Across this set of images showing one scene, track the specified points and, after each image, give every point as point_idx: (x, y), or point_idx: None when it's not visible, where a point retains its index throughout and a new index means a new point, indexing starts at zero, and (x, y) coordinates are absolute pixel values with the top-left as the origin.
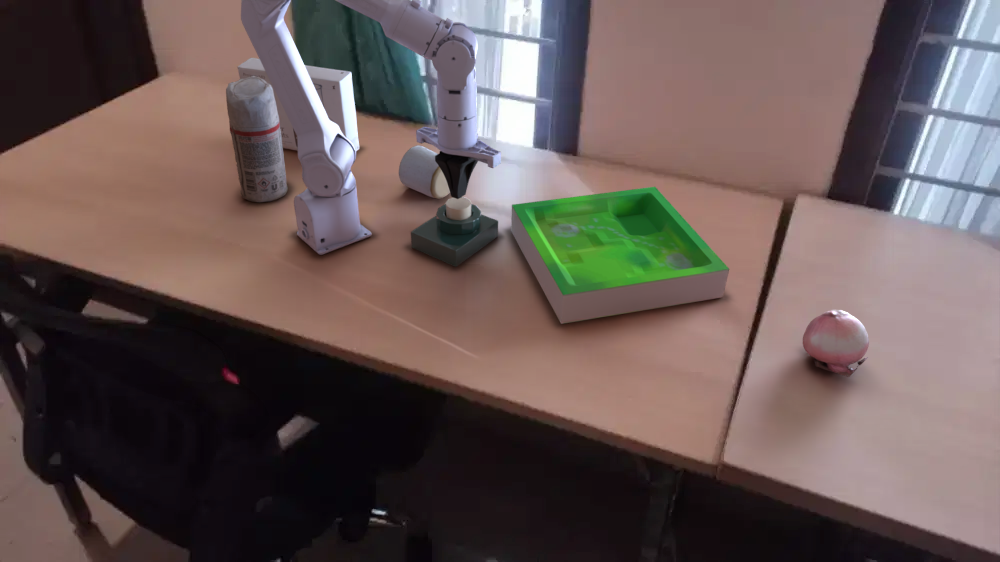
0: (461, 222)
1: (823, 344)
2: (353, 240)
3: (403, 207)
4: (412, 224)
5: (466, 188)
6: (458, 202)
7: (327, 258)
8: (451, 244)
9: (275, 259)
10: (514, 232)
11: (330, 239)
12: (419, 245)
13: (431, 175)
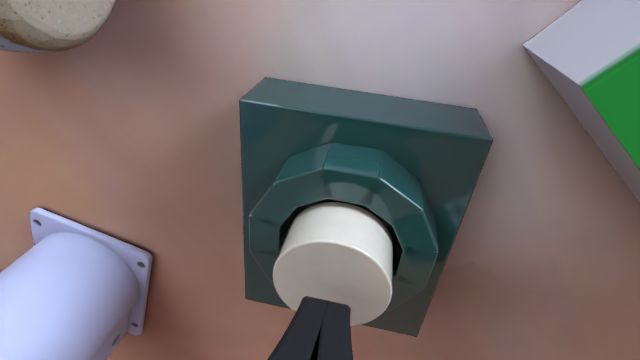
0: None
1: None
2: (144, 290)
3: (81, 92)
4: (181, 166)
5: (349, 336)
6: (328, 286)
7: (158, 331)
8: (388, 317)
9: None
10: (559, 90)
11: (119, 327)
12: None
13: (7, 42)
